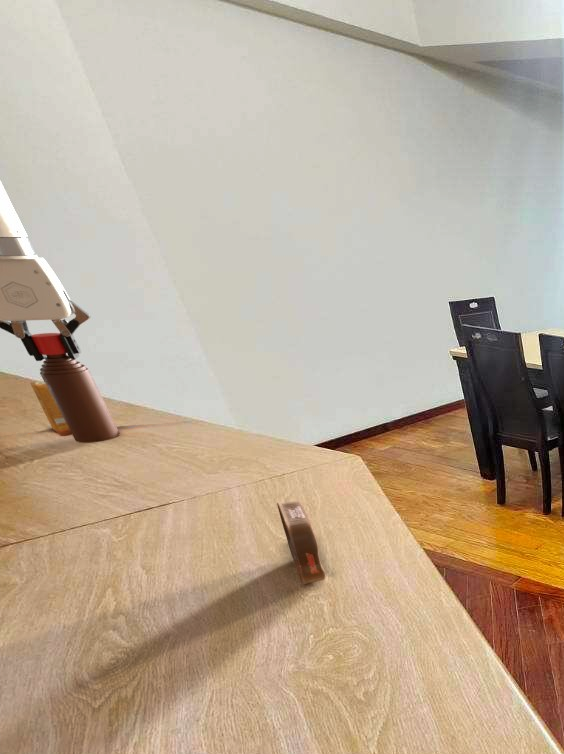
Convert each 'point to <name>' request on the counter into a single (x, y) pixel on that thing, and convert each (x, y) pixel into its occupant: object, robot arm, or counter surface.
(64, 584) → the counter surface
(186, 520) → the counter surface
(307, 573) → the brown curved block
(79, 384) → the sauce bottle
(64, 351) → the cap
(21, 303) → the robot arm
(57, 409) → the supplement box
